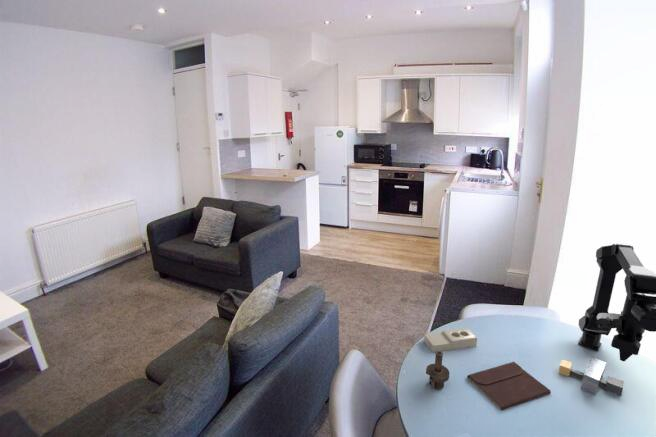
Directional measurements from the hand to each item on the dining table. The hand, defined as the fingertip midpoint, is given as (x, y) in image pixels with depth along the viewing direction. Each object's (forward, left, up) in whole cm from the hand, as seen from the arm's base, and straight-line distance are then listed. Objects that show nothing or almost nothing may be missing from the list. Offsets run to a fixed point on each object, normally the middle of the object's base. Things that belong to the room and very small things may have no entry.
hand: (623, 358), depth 115 cm
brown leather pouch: (+21, -25, -13) cm, 35 cm away
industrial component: (+37, -42, -13) cm, 58 cm away
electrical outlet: (+13, -49, -13) cm, 53 cm away
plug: (-1, -7, -13) cm, 14 cm away
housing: (0, -6, -12) cm, 14 cm away
